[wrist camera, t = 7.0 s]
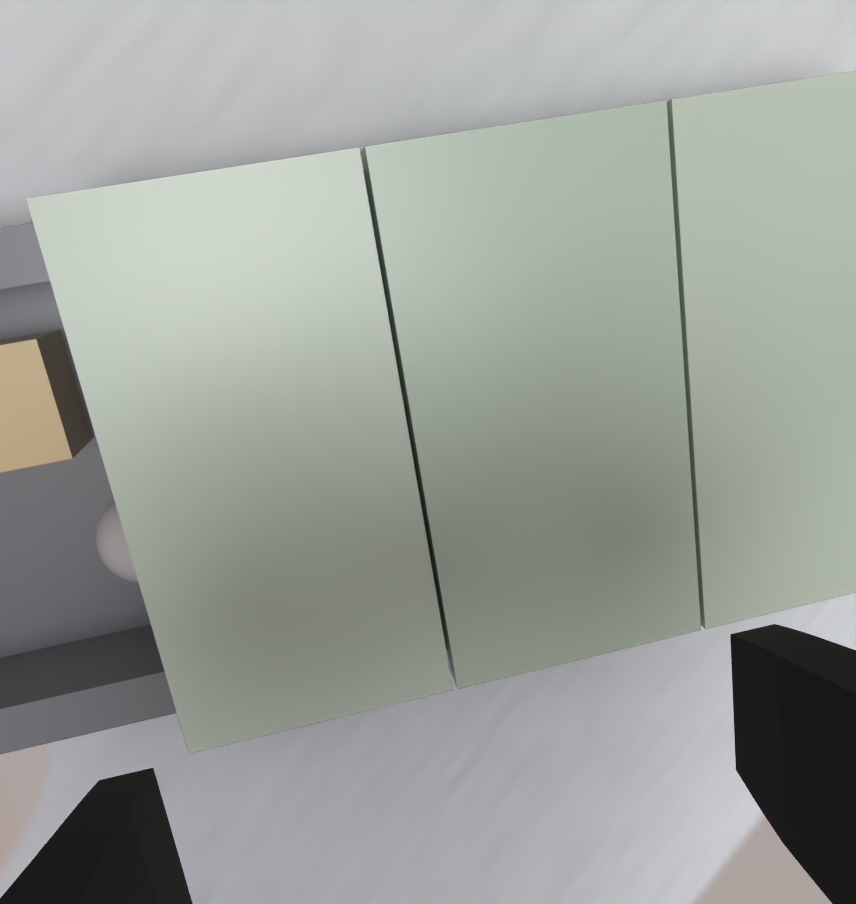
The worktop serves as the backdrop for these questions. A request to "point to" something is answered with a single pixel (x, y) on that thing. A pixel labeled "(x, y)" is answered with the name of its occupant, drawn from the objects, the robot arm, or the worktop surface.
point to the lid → (473, 396)
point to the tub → (63, 536)
